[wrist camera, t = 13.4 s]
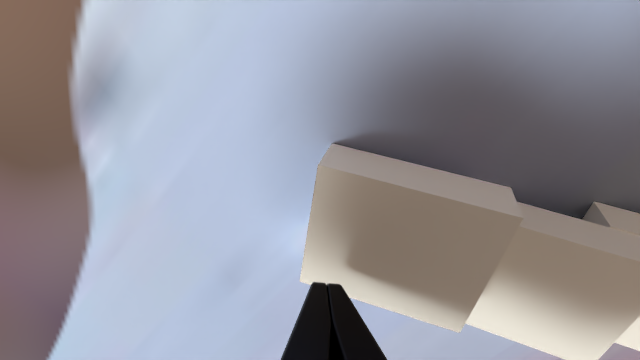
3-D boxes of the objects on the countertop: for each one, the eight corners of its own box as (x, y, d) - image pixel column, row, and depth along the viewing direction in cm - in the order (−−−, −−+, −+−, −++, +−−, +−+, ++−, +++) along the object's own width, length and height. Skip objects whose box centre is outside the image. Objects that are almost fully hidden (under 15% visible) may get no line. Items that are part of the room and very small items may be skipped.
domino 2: (475, 189, 12) (651, 239, 11) (433, 281, 14) (575, 330, 13) (478, 214, 11) (680, 273, 9) (432, 311, 13) (589, 368, 12)
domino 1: (332, 143, 11) (510, 187, 10) (312, 251, 13) (456, 295, 12) (318, 164, 9) (523, 218, 9) (299, 281, 12) (459, 332, 11)
